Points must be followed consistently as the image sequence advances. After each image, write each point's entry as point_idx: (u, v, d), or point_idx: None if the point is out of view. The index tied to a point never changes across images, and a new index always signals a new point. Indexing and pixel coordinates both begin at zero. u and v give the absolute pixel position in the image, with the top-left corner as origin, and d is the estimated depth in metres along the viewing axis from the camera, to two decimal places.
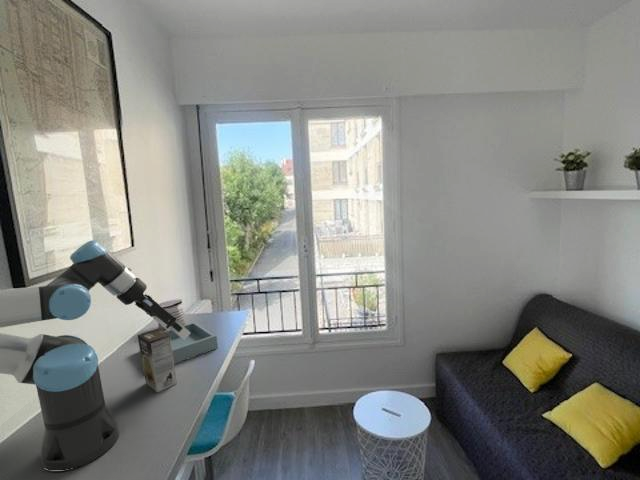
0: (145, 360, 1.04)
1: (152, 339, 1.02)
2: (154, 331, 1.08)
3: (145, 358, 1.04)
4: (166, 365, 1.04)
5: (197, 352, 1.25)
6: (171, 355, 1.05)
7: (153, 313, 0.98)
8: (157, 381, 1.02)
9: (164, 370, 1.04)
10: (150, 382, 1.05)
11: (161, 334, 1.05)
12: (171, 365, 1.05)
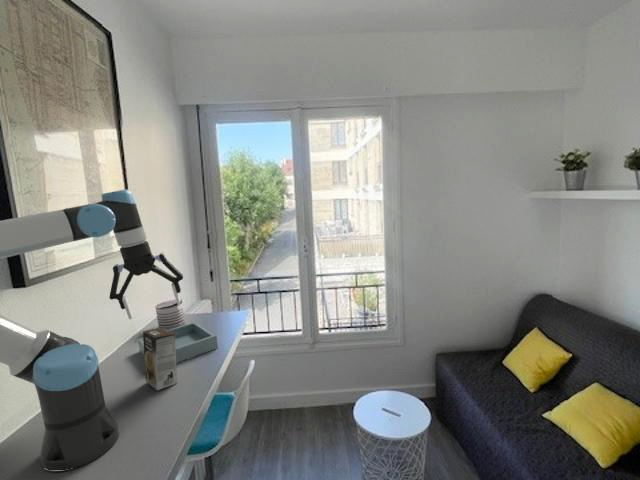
0: (148, 357, 1.05)
1: (158, 336, 1.03)
2: (159, 329, 1.09)
3: (148, 355, 1.05)
4: (168, 364, 1.05)
5: (197, 352, 1.25)
6: (174, 354, 1.06)
7: (160, 270, 1.02)
8: (158, 379, 1.03)
9: (166, 368, 1.04)
10: (150, 380, 1.05)
11: (166, 332, 1.07)
12: (173, 364, 1.06)
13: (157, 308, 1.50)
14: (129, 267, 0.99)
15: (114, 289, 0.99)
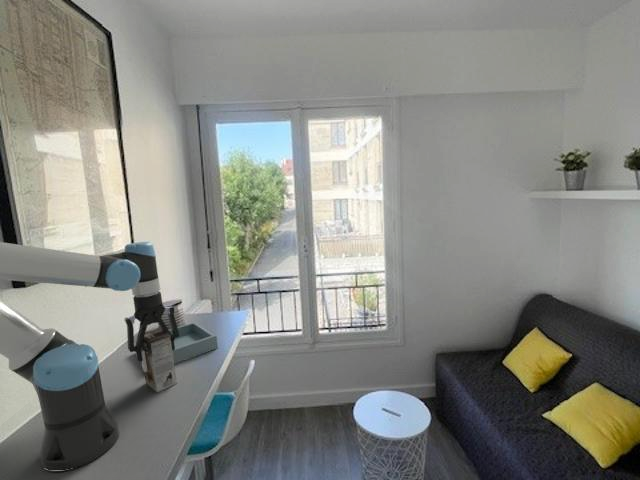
0: None
1: (152, 339, 1.02)
2: (154, 331, 1.08)
3: None
4: (166, 365, 1.04)
5: (197, 352, 1.25)
6: (171, 355, 1.05)
7: (164, 324, 1.06)
8: (157, 381, 1.02)
9: (164, 370, 1.04)
10: (150, 382, 1.05)
11: (161, 334, 1.05)
12: (171, 365, 1.05)
13: None
14: (141, 316, 1.02)
15: (132, 341, 1.01)
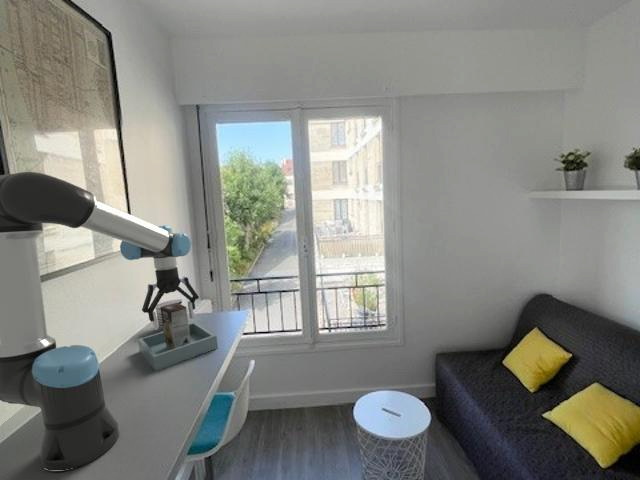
0: (166, 327, 1.28)
1: (172, 309, 1.25)
2: (173, 304, 1.32)
3: (166, 326, 1.28)
4: (183, 332, 1.27)
5: (197, 352, 1.25)
6: (187, 323, 1.29)
7: None
8: (176, 344, 1.26)
9: (181, 335, 1.27)
10: (170, 345, 1.28)
11: (179, 306, 1.29)
12: (187, 332, 1.29)
13: (157, 308, 1.50)
14: (161, 286, 1.25)
15: (148, 304, 1.22)
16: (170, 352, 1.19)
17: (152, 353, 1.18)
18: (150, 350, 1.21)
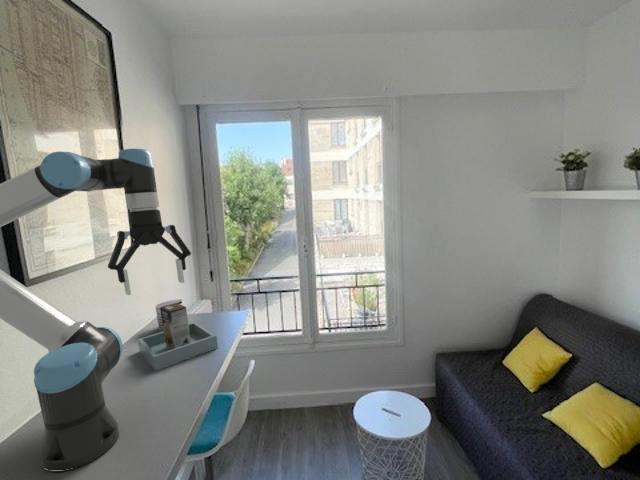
0: (166, 327, 1.28)
1: (172, 309, 1.25)
2: (173, 304, 1.32)
3: (166, 326, 1.28)
4: (183, 332, 1.27)
5: (197, 352, 1.25)
6: (187, 323, 1.29)
7: (169, 243, 0.94)
8: (176, 344, 1.26)
9: (181, 335, 1.27)
10: (170, 345, 1.28)
11: (178, 306, 1.29)
12: (187, 332, 1.29)
13: (157, 308, 1.50)
14: (137, 234, 0.89)
15: (116, 258, 0.86)
16: (170, 352, 1.19)
17: (152, 353, 1.18)
18: (150, 350, 1.21)
